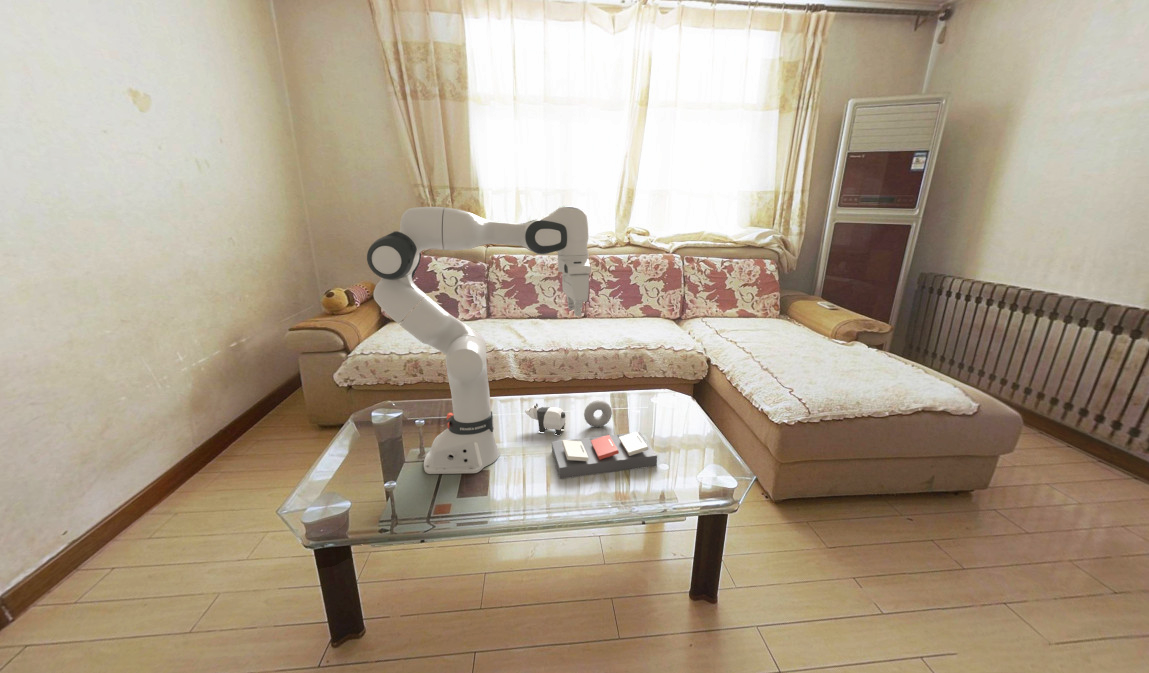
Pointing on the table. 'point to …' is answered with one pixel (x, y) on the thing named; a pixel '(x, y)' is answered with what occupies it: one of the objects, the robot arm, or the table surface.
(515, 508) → the table surface
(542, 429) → the giant panda
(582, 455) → the rocker left
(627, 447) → the rocker right
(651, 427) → the table surface
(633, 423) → the table surface
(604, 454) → the rocker middle
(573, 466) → the rocker switch panel
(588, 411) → the donut
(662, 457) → the table surface
